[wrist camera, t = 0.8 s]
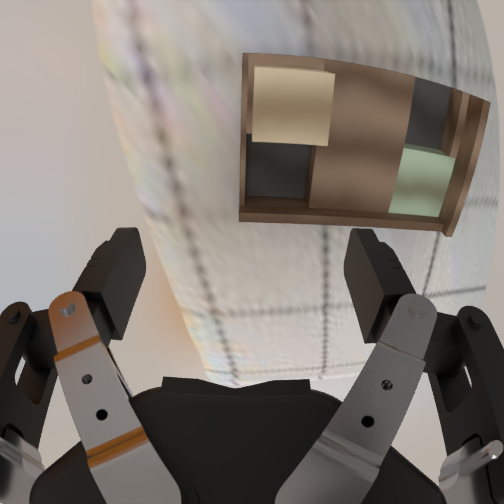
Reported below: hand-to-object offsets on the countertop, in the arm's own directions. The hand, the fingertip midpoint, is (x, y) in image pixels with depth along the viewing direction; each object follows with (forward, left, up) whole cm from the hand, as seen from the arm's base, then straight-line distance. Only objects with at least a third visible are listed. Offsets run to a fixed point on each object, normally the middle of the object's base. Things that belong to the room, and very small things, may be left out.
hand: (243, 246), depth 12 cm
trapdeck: (+1, +11, -21) cm, 24 cm away
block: (-3, +3, -19) cm, 19 cm away
